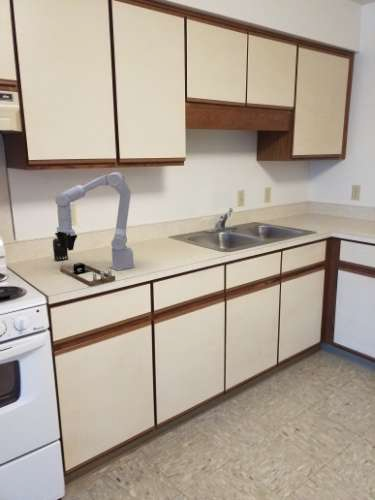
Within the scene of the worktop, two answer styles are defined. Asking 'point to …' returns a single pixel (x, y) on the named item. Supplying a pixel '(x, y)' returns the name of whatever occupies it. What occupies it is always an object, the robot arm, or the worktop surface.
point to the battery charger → (59, 251)
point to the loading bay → (95, 280)
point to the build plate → (78, 266)
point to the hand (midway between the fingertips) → (67, 248)
